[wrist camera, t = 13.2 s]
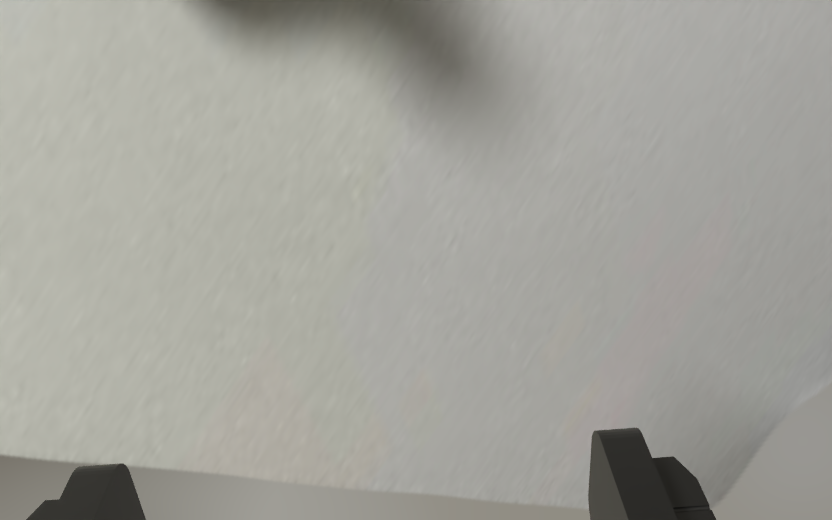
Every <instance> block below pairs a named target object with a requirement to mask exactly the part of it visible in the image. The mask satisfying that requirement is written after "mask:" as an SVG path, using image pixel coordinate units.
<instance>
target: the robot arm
mask: <svg viewBox="0 0 832 520" xmlns="http://www.w3.org/2000/svg"><path fill="white" fill-rule="evenodd" d="M588 496H589V511H590V519H591V520H716V518H715V516H714V514H713V512H712V510H710V508H709V503H708V501H707V499H706V497H705V495H704V493H703V491H702V489H701V486H700V484H699V482H698V480H697V478H696V477H695V476H693V475H692V474H691V473H690V472H689V471H688V470H687V469H686V468H685V467H684V466H683V465H682V464H681V463H680V462H679V461H678V460H677V459H676V458H674V457H662V458H652V457H651V454H650V452H649V449H648V447H647V445H646V442H645V440H644V437H643V435H642V433H641V431H640V430H639V429H638V428H627V429H613V430H599V431H594V432H593V435H592V445H591V461H590V477H589V495H588ZM27 520H146V519H145V516H144V513H143V510H142V507H141V504H140V501H139V498H138V495H137V493H136V489H135V487H134V484H133V481H132V478H131V475H130V472H129V470H128V468H127V466H126V465H124V464H110V465H96V466H83V467H78V468H76V470H74V472H73V473H72V475H71V477H70V479H69V481H68V483H67V485H66V487H65V489H64V491H63V493H62V496H61V497H60V499H59V500H47V501H44V502H43V503H42V504H41V505H40V506H39V507H38V508H37V509H36V510H35V511H34V513H32V514H31V515H30V517H28V519H27Z"/></svg>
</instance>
